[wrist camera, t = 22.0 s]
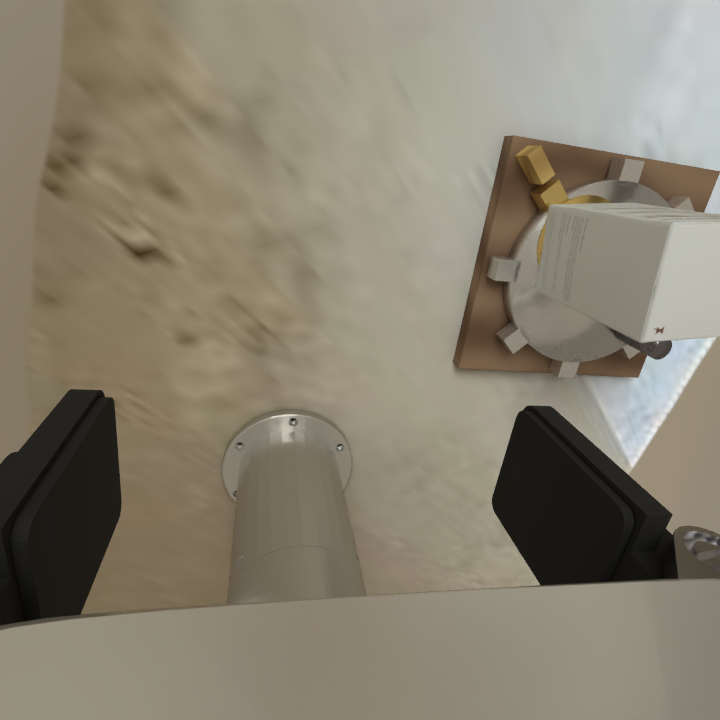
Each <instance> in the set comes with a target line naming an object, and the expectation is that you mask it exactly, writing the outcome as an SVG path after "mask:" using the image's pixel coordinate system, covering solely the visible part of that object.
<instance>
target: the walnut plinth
mask: <svg viewBox="0 0 720 720" xmlns="http://www.w3.org/2000/svg"><path fill="white" fill-rule="evenodd" d="M612 158H627V159H633V160H640V161H645V163H644V166H643V170H642V173H641V176H640V179H639V182H638V183H639V184H642V185H644V186H646V187H649V188H650V189H652V190H653V191H655V192H657V193H658V194H659V195H660V196H661V197H662V198H663V199H664V200H665V201H666V202H667V201H668V200H669V199H671V198H672V197H673V196H683V197H689V198H690V201H691V203H692V206H693V209H694V211H695V212H703V213H704V211H705V208H706V206H707V203H708V201H709V198H710V196H711V193H712V191H713V188H714V186H715V183H716V181H717V178H718V176H719V173H720V171H714V170H709V169H703V168H697V167H691V166H686V165H680V164H674V163H668V162H663V161H657V160H651V159H645V158H640V157H634V156H628V155H622V154H617V153H611V152H605V151H599V150H593V149H588V148H582V147H576V146H570V145H565V144H559V143H553V142H547V141H542V140H536V139H530V138H524V137H519V136H505V138H504V142H503V147H502V151H501V155H500V160H499V164H498V168H497V173H496V177H495V181H494V186H493V190H492V195H491V199H490V203H489V208H488V212H487V216H486V221H485V225H484V229H483V234H482V238H481V243H480V247H479V251H478V256H477V260H476V264H475V269H474V273H473V277H472V282H471V286H470V291H469V295H468V299H467V304H466V308H465V312H464V317H463V321H462V325H461V330H460V334H459V339H458V343H457V347H456V352H455V356H454V360H453V362H454V363H455V364H456V365H457V367H458V368H467V369H486V370H505V371H523V372H542V373H551V372H550V371H549V368H550V365H551V361H552V358H549V357H547V356H545V355H543V354H541V353H540V352H538V351H537V350H535V349H534V348H533V347H531V346H530V345H528V344H526V345H524V346H523V347H522V348H520V349H519V350H518V351H517V352H515V353H514V354H512V353H511V352H510V351H509V350H508V349H506V348H505V347H504V345H503V344H502V342H501V341H500V339H499V338H498V337H497V335H496V333H498V332H499V331H500V330H502V329H503V328H504V327H505V326H507V325H508V324H509V323H510V321H509V318H508V315H507V313H506V309H505V304H504V295H503V285H504V281H495V280H493V279H491V278H489V277H488V276H487V272H488V268H489V263H490V259H491V255H494V256H505V257H509V255H510V253H511V251H512V248H513V246H514V244H515V242H516V240H517V238H518V236H519V235H520V233H521V231H522V230H523V228H524V227H525V226H526V224H527V223H528V221H529V220H530V219H531V218H532V217H533V216H534V215H535V214H536V212H537V211H538V210H539V209H538V207H537V205H536V203H535V201H534V199H533V198H532V196H531V194H530V193H531V192H532V191H534V190H535V189H536V188H537V187H539V186H540V185H543V184H544V183H545V182H547V181H548V180H549V179H557V180H560V182H561V184H562V186H563V188H564V190H567V189H569V188H571V187H574V186H576V185H579V184H582V183H586V182H590V181H595V180H606V178H607V175H608V171H609V168H610V165H611V161H612ZM646 357H647V355H646V354H644V353H642V352H639V353H637V354H636V355H635V356H633V357H632V358H630V359H628V358H626V357H625V356H623V355H621V354H619V353H618V352H617V351H616V352H614V353H612V354H610V355H607V356H605V357H602V358H599V359H595V360H592V361H585V362H580V363H579V366H578V369H577V372H576V374H580V375H599V376H618V377H636V378H638V377H639V374H640V372H641V369H642V367H643V364H644V362H645V359H646Z"/></svg>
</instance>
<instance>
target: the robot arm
mask: <svg viewBox="0 0 720 720" xmlns="http://www.w3.org/2000/svg"><path fill="white" fill-rule="evenodd" d="M291 418H295V419H291ZM239 442H240V443H239ZM351 471H352V457H351V452H350V448H349V445H348V442H347V440H346V439H345V437H344V435H343V433H342V432H341V431H340V430H339V429H338V428H337V427H336V426H335V425H334V424H333V423H331V422H330V421H328V420H327V419H326V418H323V417H321V416H319V415H317V414H314V413H310V412H306V411H299V410H284V411H276V412H272V413H268V414H265V415H262V416H260V417H258V418H256V419H254V420H252V421H251V422H249V423H248V424H246V425H245V426H243V427H242V428H241V429H240V430H239V431H238V432H237V433H236V434H235V435H234V437H233V438H232V440H231V441H230V443H229V444H228V446H227V449H226V451H225V454H224V459H223V464H222V477H223V482H224V486H225V488H226V490H227V492H228V494H229V496H230V497H231V498H232V499H233V501H234V502H235V503H236V507H235V519H234V530H233V541H232V553H231V564H230V575H229V587H228V598H227V604H217V605H201V606H185V607H170V608H154V609H138V610H126V611H115V612H105V613H94V614H84V615H80V614H81V612H82V609H83V607H84V604H85V602H86V599H87V597H88V594H89V592H90V589H91V587H92V584H93V582H94V579H95V577H96V574H97V572H98V569H99V567H100V565H101V562H102V560H103V557H104V555H105V552H106V550H107V547H108V545H109V542H110V540H111V537H112V535H113V532H114V530H115V527H116V525H117V522H118V520H119V517H120V512H121V488H120V474H119V460H118V447H117V433H116V419H115V405H114V400H113V398H110V397H105V396H104V393H103V391H102V390H77V389H71V390H69V391H68V392H67V393H66V395H65V396H64V397H63V398H62V399H61V401H60V402H59V403H58V404H57V405H56V407H55V408H54V409H53V410H52V412H51V413H50V414H49V415H48V416H47V418H46V419H45V420H44V421H43V422H42V424H41V425H40V426H39V427H38V428H37V430H36V431H35V432H34V433H33V434H32V436H31V437H30V438H29V439H28V440H27V442H26V443H25V444H24V445H23V446H22V448H21V449H20V450H19V451H18V452H14V453H11V454H10V455H8V456H7V457H6V458H5V459H4V461H3V462H2V463H1V464H0V720H720V535H719V534H717V533H715V532H713V531H709V530H707V529H703V528H700V527H693V526H682V527H679V528H678V529H676V530H675V531H674V533H673V535H672V534H671V533H670V532H669V531H667V529H666V526H667V525H668V523H669V521H670V518H671V517H672V514H671V513H670V512H669V511H668V510H667V509H666V508H665V507H663V506H662V505H661V504H660V503H659V502H658V501H657V500H656V499H655V498H653V497H652V496H651V495H650V494H649V493H648V492H647V491H646V490H644V489H643V488H642V487H641V486H640V485H639V484H638V483H637V482H636V481H634V480H633V479H632V478H631V477H630V476H629V475H628V474H627V473H625V472H624V471H623V470H622V469H621V468H620V467H619V466H618V465H616V464H615V463H614V462H613V461H612V460H611V459H610V458H609V457H608V456H606V455H605V454H604V453H603V452H602V451H601V450H600V449H599V448H597V447H596V446H595V445H594V444H593V443H592V442H591V441H590V440H588V439H587V438H586V437H585V436H584V435H583V434H582V433H581V432H580V431H578V430H577V429H576V428H575V427H574V426H573V425H572V424H571V423H569V422H568V421H567V420H566V419H565V418H564V417H563V416H562V415H560V414H559V413H558V412H557V411H556V410H555V409H554V408H552V407H550V406H527V407H525V409H524V410H523V411H521V412H519V413H518V415H517V417H516V420H515V423H514V427H513V430H512V433H511V437H510V440H509V444H508V447H507V450H506V454H505V457H504V460H503V464H502V467H501V470H500V474H499V477H498V480H497V484H496V487H495V490H494V494H493V497H492V506H493V510H494V512H495V514H496V515H497V517H498V518H499V520H500V522H501V523H502V525H503V526H504V528H505V530H506V531H507V533H508V534H509V536H510V537H511V539H512V541H513V542H514V544H515V545H516V547H517V549H518V550H519V552H520V553H521V555H522V556H523V558H524V560H525V561H526V563H527V564H528V566H529V567H530V569H531V571H532V572H533V574H534V575H535V577H536V579H537V580H538V582H539V583H540V585H539V586H520V587H502V588H484V589H466V590H448V591H430V592H413V593H396V594H379V595H367V593H366V589H365V584H364V580H363V576H362V572H361V567H360V563H359V558H358V554H357V549H356V545H355V541H354V536H353V532H352V527H351V523H350V518H349V514H348V510H347V505H346V501H345V496H344V492H343V491H344V489H345V487H346V485H347V483H348V481H349V479H350V475H351Z"/></svg>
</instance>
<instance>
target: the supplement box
mask: <svg viewBox="0 0 720 720" xmlns="http://www.w3.org/2000/svg"><path fill="white" fill-rule="evenodd" d="M536 291H538V292H540V293H542V294H544V295H546V296H548V297H550V298H552V299H554V300H556V301H558V302H560V303H562V304H564V305H566V306H568V307H570V308H572V309H574V310H576V311H578V312H580V313H582V314H584V315H586V316H588V317H590V318H591V319H593V320H595V321H597V322H599V323H601V324H603V325H605V326H607V327H609V328H611V329H613V330H615V331H617V332H619V333H621V334H623V335H625V336H627V337H629V338H631V339H633V340H635V341H637V342H639V343H647V342H658V341H668V340H681V339H696V338H709V337H720V214H711V213H703V212H695V211H687V210H680V209H674V208H667V207H659V206H653V205H646V204H639V203H589V204H552V205H549V210H548V217H547V223H546V229H545V236H544V242H543V249H542V255H541V262H540V268H539V274H538V281H537V287H536Z"/></svg>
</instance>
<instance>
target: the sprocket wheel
mask: <svg viewBox="0 0 720 720" xmlns="http://www.w3.org/2000/svg"><path fill="white" fill-rule="evenodd" d="M644 163H645V161H640V160H633V159H627V158H612V161H611V165H610V168H609V171H608V175H607V178H606V180H595V181H590V182H586V183H582V184H579V185H576V186H574V187H571V188H569V189H567V190H564V188H563V186H562V184H561V182H560V180H557V179H549V180H548V181H547V182H545V183H544V184H543V185H540V186H539V187H537V188H536V189H535V190H534V191H532V192H531V193H530V194H531V196H532V198H533V199H534V201H535V203H536V205H537V207H538V209H539V210H538V211H537V212H536V214H535V215H534V216H533V217H532V218H531V219H530V220H529V221H528V223H527V224H526V226H525V227H524V228H523V230H522V231H521V233H520V235H519V236H518V238H517V240H516V242H515V244H514V246H513V248H512V251H511V253H510V255H509V257H505V256H494V255H491V259H490V263H489V268H488V272H487V276H488V277H489V278H491V279H493V280H495V281H504V285H503V295H504V304H505V309H506V313H507V315H508V318H509V321H510V323H509V324H508V325H507V326H505V327H504V328H503V329H502V330H500V331H499V332H498V333H496V335H497V337H498V338H499V339H500V341H501V342H502V344H503V345H504V347H505V348H506V349H508V350H509V351H510V352H511V353H512V354H514V353H515V352H517V351H518V350H519V349H520V348H522V347H523V346H524V345H526V344H528V345H530V346H531V347H533V348H534V349H535V350H537V351H538V352H540V353H541V354H543V355H545V356H547V357H549V358H552V361H551V365H550V368H549V371H550V372H551V373H553V374H554V375H555V376H557V377H558V378H575V375H576V372H577V369H578V366H579V363H580V362H585V361H592V360H595V359H599V358H602V357H605V356H607V355H610V354H612V353H614V352H616V351H617V352H618V353H619V354H621V355H623V356H625V357H626V358H628V359H630V358H632V357H633V356H635V355H636V354H637V353H639V352H642V353H644V354H646V355H648V356H650V357H652V358H654V359H662V358H664V357H665V356H666V355H667V354H668V353H669V352H670V350H671V348H672V342H671V340H668V341H658V342H647V343H639V342H637V341H635V340H633V339H631V338H629V337H627V336H625V335H623V334H621V333H619V332H617V331H615V330H613V329H611V328H609V327H607V326H605V325H603V324H601V323H599V322H597V321H595V320H593V319H591V318H590V317H588V316H586V315H584V314H582V313H580V312H578V311H576V310H574V309H572V308H570V307H568V306H566V305H564V304H562V303H560V302H558V301H556V300H554V299H552V298H550V297H548V296H546V295H544V294H542V293H540V292H538V291H536V287H537V281H538V274H539V268H540V262H541V255H542V249H543V242H544V236H545V229H546V223H547V217H548V210H549V205H552V204H589V203H639V204H646V205H653V206H659V207H667V208H674V209H680V210H687V211H694V209H693V206H692V203H691V201H690V198H689V197H683V196H673V197H672V198H671V199H669V200H668V201H667V202H666V201H665V200H664V199H663V198H662V197H661V196H660V195H659V194H658V193H657V192H655V191H653V190H652V189H650V188H649V187H646V186H644V185H642V184H639V183H638V182H639V179H640V176H641V173H642V170H643V166H644Z"/></svg>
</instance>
